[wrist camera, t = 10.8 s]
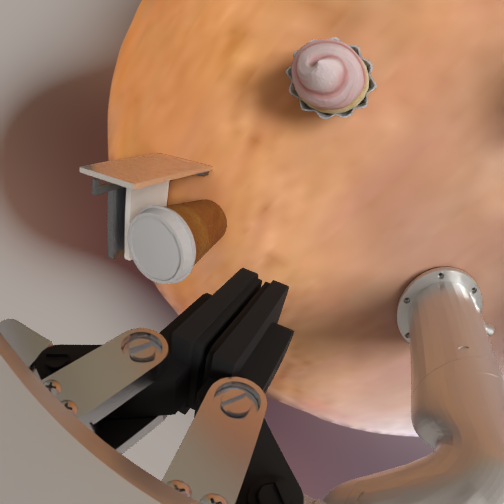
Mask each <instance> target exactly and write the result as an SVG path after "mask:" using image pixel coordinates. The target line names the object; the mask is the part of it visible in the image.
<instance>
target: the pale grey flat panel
mask: <svg viewBox="0 0 504 504" xmlns="http://www.w3.org/2000/svg"><path fill="white" fill-rule="evenodd" d="M120 188H123V186H120V185H117V184H114V183H111V182H110V183H106V184H102V185H99V179H98V178H95V179H93V180H92V194H93V195H99V194H102V193H106V192H109V191H113V190H116V189H120ZM168 188H169V181H166V182H162V183H158V184H154V185H151V186H147V187H143V188H140V189H136V190H132V189H129V188H126V205H125V259H127V260H129V261H130V260H132V257H131V254H130V251H129V248H128V240H127V236H128V229H129V226H130V223H131V222H132V220H133V219H134V218H135V217H136V216H137V214H138V213H139V212H140V211H141V210H142V209H144V208H146V207H148V206H153V205H154V206H163V207H164V206H167V197H168Z"/></svg>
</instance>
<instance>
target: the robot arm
mask: <svg viewBox="0 0 504 504" xmlns="http://www.w3.org/2000/svg"><path fill="white" fill-rule="evenodd" d="M439 273H442V274H441V275H439ZM261 284H262V280H260V279H258V274H257V273H254V272H252V271H249V270H247V269H245V268H242V269H240V270H239V271H238V272H237V273H236V274H235V275H234V276H233V277H232V278H231V279H229V280H228V281H227V282H226V283H225V284H224V285H223V286H222V287H221V288H220V289H219V290H218V291H217V292H215V293H214V294H213V295H210V294H208V293H205V294H203V295H202V296H201V297H200V298H199V299H197V300H196V301H195V302H194V303H193V304H192V305H191V306H189V307H188V308H187V309H186V310H185V311H184V312H183V313H182V314H180V315H179V316H178V317H177V318H176V319H175V320H174V321H173V322H171V323H170V324H169V325H168V326H167V327H166V328H165V329H163V330H162V331H161V332H160V333H157V332H156V331H154V330H150V329H145V328H137V329H131V330H129V331H126V332H124V333H122V334H121V335H119V336H117V337H115V338H114V339H112V340H110V341H109V342H107V343H105V344H104V345H53V344H52V341H50V340H48V339H46V338H45V337H43V336H41V335H39V334H38V333H36V332H35V331H33V330H31V329H30V328H28V327H26V326H25V325H24V324H22V323H20V322H19V321H17V320H14V319H6V320H3V321H1V322H0V504H504V379H503V376H502V373H501V370H500V367H499V364H498V361H497V359H496V356H495V353H494V350H493V347H492V345H491V341H490V340H489V337H488V335H489V336H491V335H492V334H493V332H494V326H492V325H489V324H486V323H485V322H484V319H483V317H482V315H481V312H482V305H483V301H482V294H481V291H480V289H479V287H478V285H477V283H476V282H475V280H474V279H473V278H472V277H471V276H470V275H469V274H468V273H466V272H465V271H463V270H460V269H458V268H453V267H439V268H434V269H431V270H429V271H426V272H424V273H423V274H421V275H419V276H418V277H416V278H415V279H414V280H413V281H412V282H411V283H410V284H409V285H408V286H407V287H406V289H405V290H404V292H403V294H402V295H401V297H400V300H399V303H398V307H397V324H398V328H399V331H400V333H401V335H402V336H403V338H404V339H405V340H406V341H407V342H408V343H409V344H410V354H411V419H412V424H413V427H414V429H415V431H416V433H417V434H418V436H419V437H420V438H421V439H422V440H423V441H424V442H425V443H426V444H428V445H429V446H430V447H432V448H433V449H435V451H434V452H433V453H431V454H430V455H428V456H426V457H423V458H421V459H418V460H416V461H413V462H411V463H409V464H406V465H403V466H400V467H396V468H393V469H390V470H386V471H382V472H379V473H375V474H371V475H368V476H364V477H360V478H356V479H353V480H350V481H347V482H345V483H342V484H340V485H338V486H337V487H335V488H334V489H332V490H331V491H330V492H329V493H328V494H327V495H326V496H325V497H324V498H323V499H322V501H321V500H320V499H316V500H314V499H312V498H310V497H309V496H307V495H305V494H303V493H302V490H301V488H300V486H299V484H298V483H297V480H296V479H295V477H294V475H293V473H292V471H291V469H290V467H289V465H288V464H287V462H286V460H285V458H284V456H283V454H282V452H281V451H280V448H279V447H278V444H277V443H276V441H275V439H274V437H273V435H272V433H271V431H270V429H269V427H268V425H267V423H266V421H265V419H264V416H265V413H266V409H267V399H266V395H265V393H266V391H267V389H268V387H269V385H270V383H271V381H272V380H273V378H274V376H275V374H276V372H277V370H278V368H279V366H280V364H281V362H282V360H283V358H284V355H285V353H286V351H287V349H288V346H289V344H290V341H291V339H292V336H293V334H294V331H293V330H291V329H288V328H286V327H283V326H281V325H279V324H277V322H278V320H279V317H280V314H281V311H282V308H283V305H284V302H285V299H286V296H287V292H288V289H289V286H287V285H284V284H282V283H279V282H277V281H274V280H273V281H272V282H271V284H270V283H268V282H265V283H264V285H263V286H262V287H261ZM472 288H473V289H472ZM406 298H407V299H406ZM190 408H192V409H194V410H195V416H194V420H193V422H192V424H191V426H190V427H189V429H188V431H187V433H186V435H185V437H184V439H183V441H182V443H181V445H180V447H179V449H178V451H177V453H176V455H175V456H174V458H173V460H172V462H171V464H170V466H169V468H168V470H167V472H166V474H165V476H164V478H163V479H162V481H160V480H158V479H157V478H155V477H154V476H152V475H151V474H149V473H147V472H146V471H144V470H143V469H141V468H140V467H138V466H137V465H136V464H134V463H133V462H131V461H130V460H128V459H127V458H126V457H124V456H123V455H122V454H123V453H124V452H125V451H127V450H128V449H129V448H130V447H132V446H133V445H134V444H135V443H137V442H138V441H139V440H140V439H142V438H143V437H144V436H145V435H147V434H148V433H149V432H150V431H152V430H153V429H154V428H155V427H156V426H158V425H159V424H160V423H161V422H162V421H163V420H164V419H165V418H166V417H167V415H172V414H176V412H177V411H180V412H181V413H183V414H186V413H187V412H188V410H189V409H190Z"/></svg>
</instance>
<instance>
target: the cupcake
mask: <svg viewBox="0 0 504 504" xmlns="http://www.w3.org/2000/svg"><path fill="white" fill-rule="evenodd" d="M293 57H294V60H293V63H292V65H291V66H290V67H289V68H287V70H286V71H285V72H286V74H287V76H288V77H289V79H290V80H291V84H290V86H289V93H290V94H291V95H292V96H294V97H296V98H299V102H300V107H301V108H302V110H304V111H315V112H316V113H317V114H318V115H319V117H321V118H323V119H329V118H331V117H332V116H334V115H337V116H339V117H341V118H346V117H349V116H350V115H352V113H353V111H354V109H358V108H364V107H366V106H367V104H368V94H369V93H370V92H371V91H373V90H374V89H375V88H376V87H377V85H376V83H375V81H374V80H373V78H372V77H371V75H370V74H371V72H372V69H373V67H372V64H371V62H370V61H369V60H367V59H365V58H363V57H362V56H361V52H360V48H359V47H358V46H356V45H346V44H345V43H343V42H341V41H340V40H339V39H338V38H336V37H334V38H331V39H319V40H313V39H312V40H311V41H310V42H309V43H307V44H306V45H304V46H303V47H301V49H300V50H297V51H295V52H294V54H293Z"/></svg>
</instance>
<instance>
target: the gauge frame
mask: <svg viewBox="0 0 504 504" xmlns="http://www.w3.org/2000/svg"><path fill="white" fill-rule="evenodd" d="M212 168H213V166H210V165H207V164H203V163H199V162H195V161H191V160H187V159H183V158H179V157H175V156H170V155H166V154H162V153H156V154H149V155H143V156H136V157H130V158H124V159H119V160H113V161H108V162H102V163H97V164H93V165H88V166H83V167H80V172H81V173H84V174H87V175H90V176H93V177H96V178H99V179H102V180H105V181H108V183H110V182H111V183H114V184H117V185H120V186H123V188H120V189H116V190H113V191H109V192H108V211H107V229H108V230H107V233H108V234H107V235H108V256H109V257H110V258H112V259H115V258H117V257H119V256H121V255H123V254H125V205H126V188H129V189H132V190H136V189H140V188H143V187H147V186H151V185H154V184H158V183H162V182H166V181H170V180H174V179H177V178H182V177H186V176H190V175H194V174H198V175H201V176H206V175H208V173H209V171H211V170H212Z"/></svg>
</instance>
